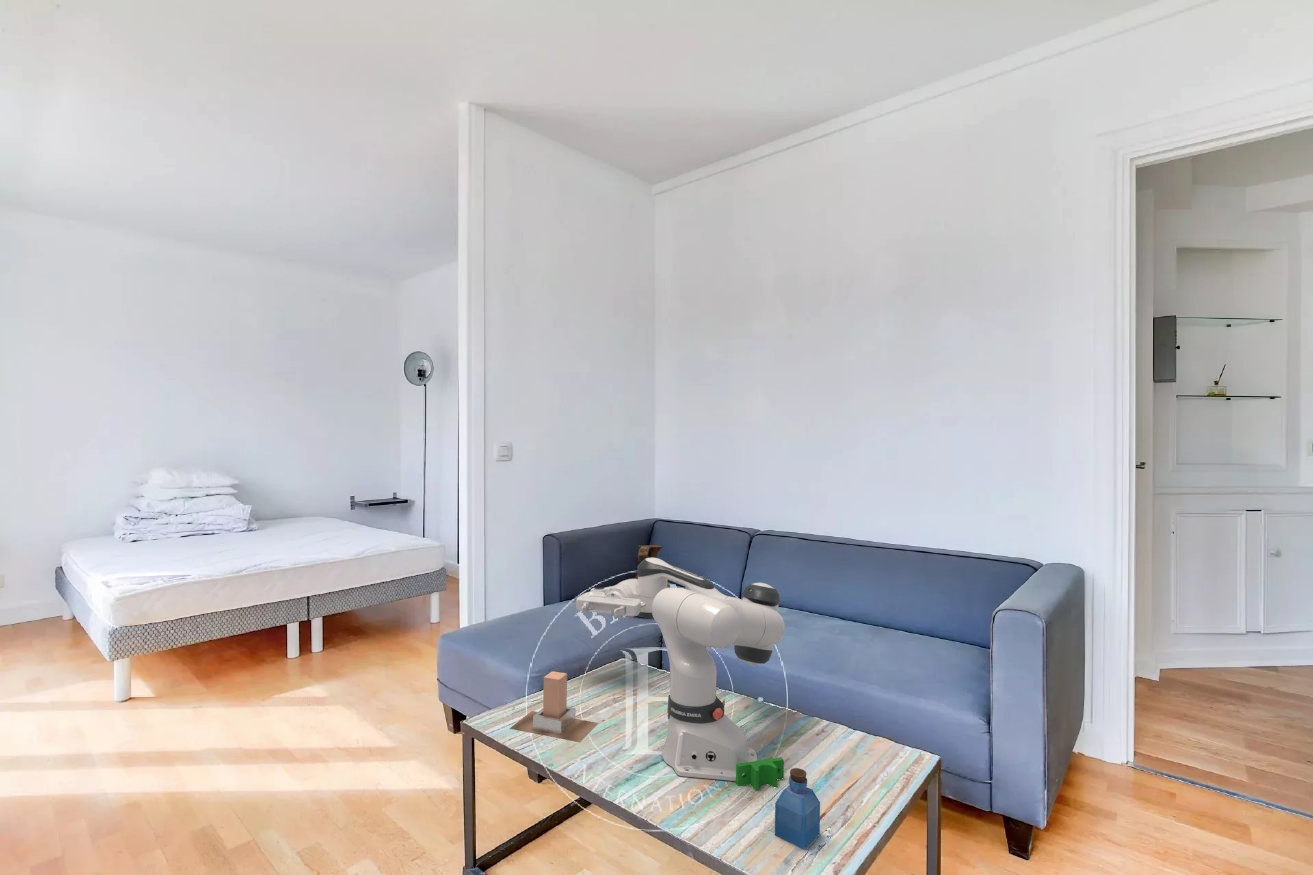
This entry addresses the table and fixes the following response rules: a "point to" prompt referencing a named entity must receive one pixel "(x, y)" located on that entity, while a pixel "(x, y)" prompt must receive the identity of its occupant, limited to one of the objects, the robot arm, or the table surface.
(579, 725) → the holder base
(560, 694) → the tall rectangular block
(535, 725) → the square metal frame
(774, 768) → the pipe clamp
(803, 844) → the perfume bottle
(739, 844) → the table surface
